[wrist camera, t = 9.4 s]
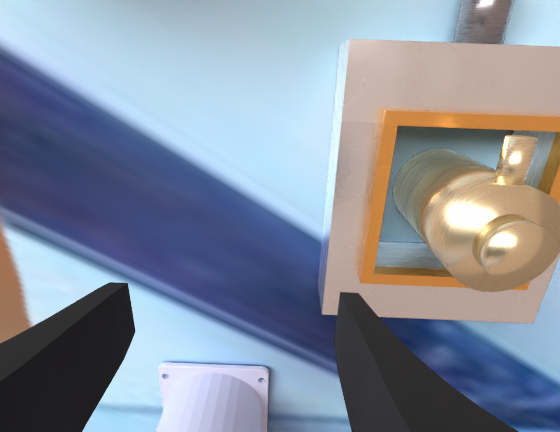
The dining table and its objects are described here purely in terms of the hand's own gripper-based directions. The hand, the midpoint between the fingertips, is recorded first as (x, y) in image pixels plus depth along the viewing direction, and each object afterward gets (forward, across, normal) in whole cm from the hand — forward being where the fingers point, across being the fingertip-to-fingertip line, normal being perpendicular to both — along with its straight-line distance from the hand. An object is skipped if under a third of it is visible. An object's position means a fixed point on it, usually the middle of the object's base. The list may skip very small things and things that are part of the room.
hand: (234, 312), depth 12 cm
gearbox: (+9, -10, -4) cm, 14 cm away
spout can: (+9, -10, -2) cm, 14 cm away
